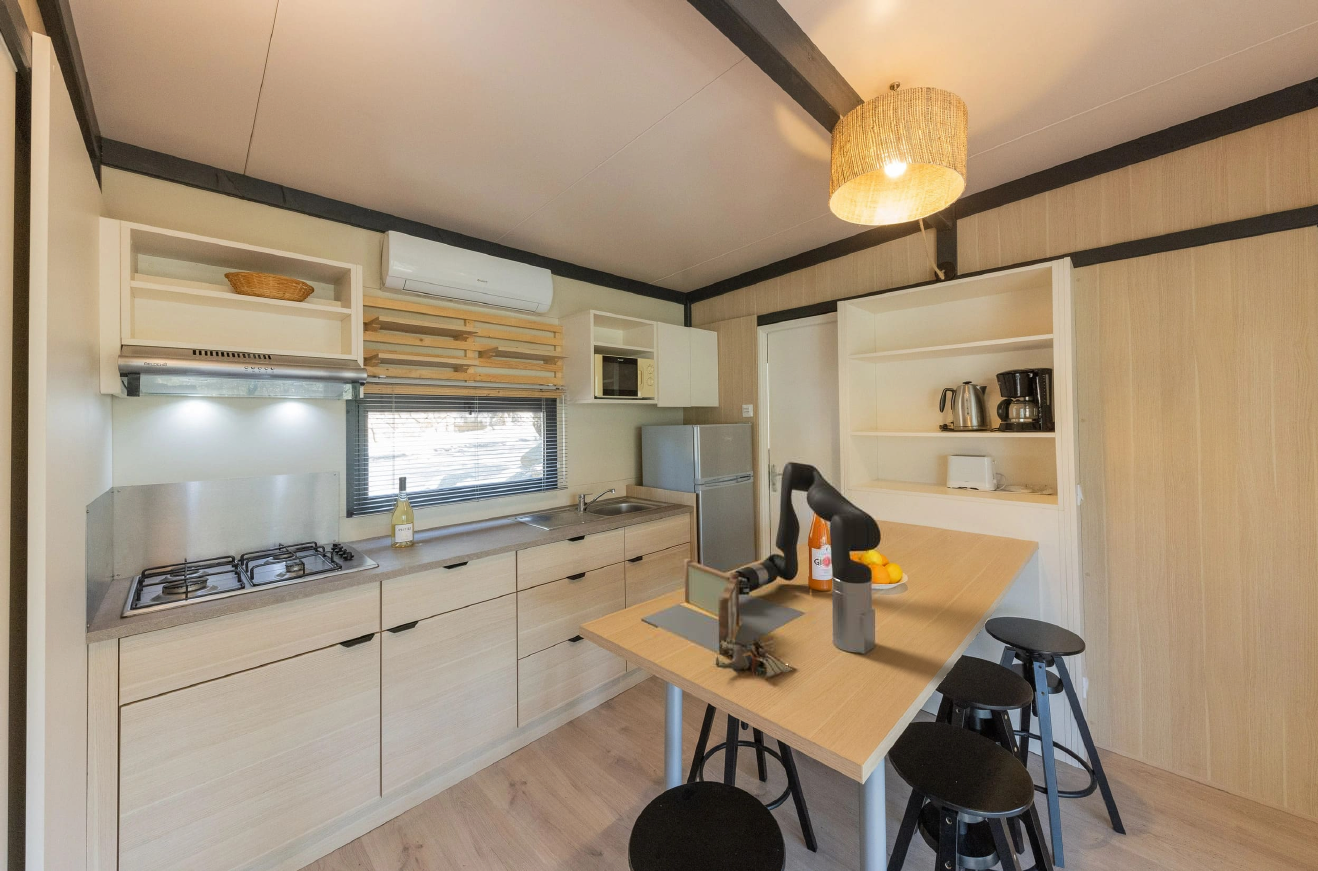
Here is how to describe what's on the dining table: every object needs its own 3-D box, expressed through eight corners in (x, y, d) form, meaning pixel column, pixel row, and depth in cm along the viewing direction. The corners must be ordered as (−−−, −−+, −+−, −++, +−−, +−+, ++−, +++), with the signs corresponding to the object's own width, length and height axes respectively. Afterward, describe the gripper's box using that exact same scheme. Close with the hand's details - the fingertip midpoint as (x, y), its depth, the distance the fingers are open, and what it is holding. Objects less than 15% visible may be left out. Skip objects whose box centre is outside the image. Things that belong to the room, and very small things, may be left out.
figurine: (743, 619, 124) (808, 642, 114) (741, 641, 125) (805, 666, 115) (704, 651, 108) (776, 681, 98) (702, 676, 108) (773, 708, 99)
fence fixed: (731, 621, 136) (730, 572, 136) (739, 621, 136) (739, 572, 135) (718, 654, 117) (717, 597, 117) (727, 655, 117) (727, 598, 116)
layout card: (807, 614, 141) (807, 612, 141) (725, 659, 116) (725, 656, 116) (724, 587, 164) (724, 586, 164) (640, 620, 139) (640, 618, 139)
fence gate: (733, 619, 137) (733, 573, 136) (727, 621, 135) (727, 575, 135) (689, 598, 153) (688, 558, 152) (683, 600, 151) (682, 559, 151)
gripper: (734, 561, 159) (697, 574, 148) (767, 571, 149) (729, 585, 138) (735, 584, 159) (697, 598, 148) (767, 595, 149) (730, 611, 138)
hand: (713, 592), depth 143 cm, fingers closed
